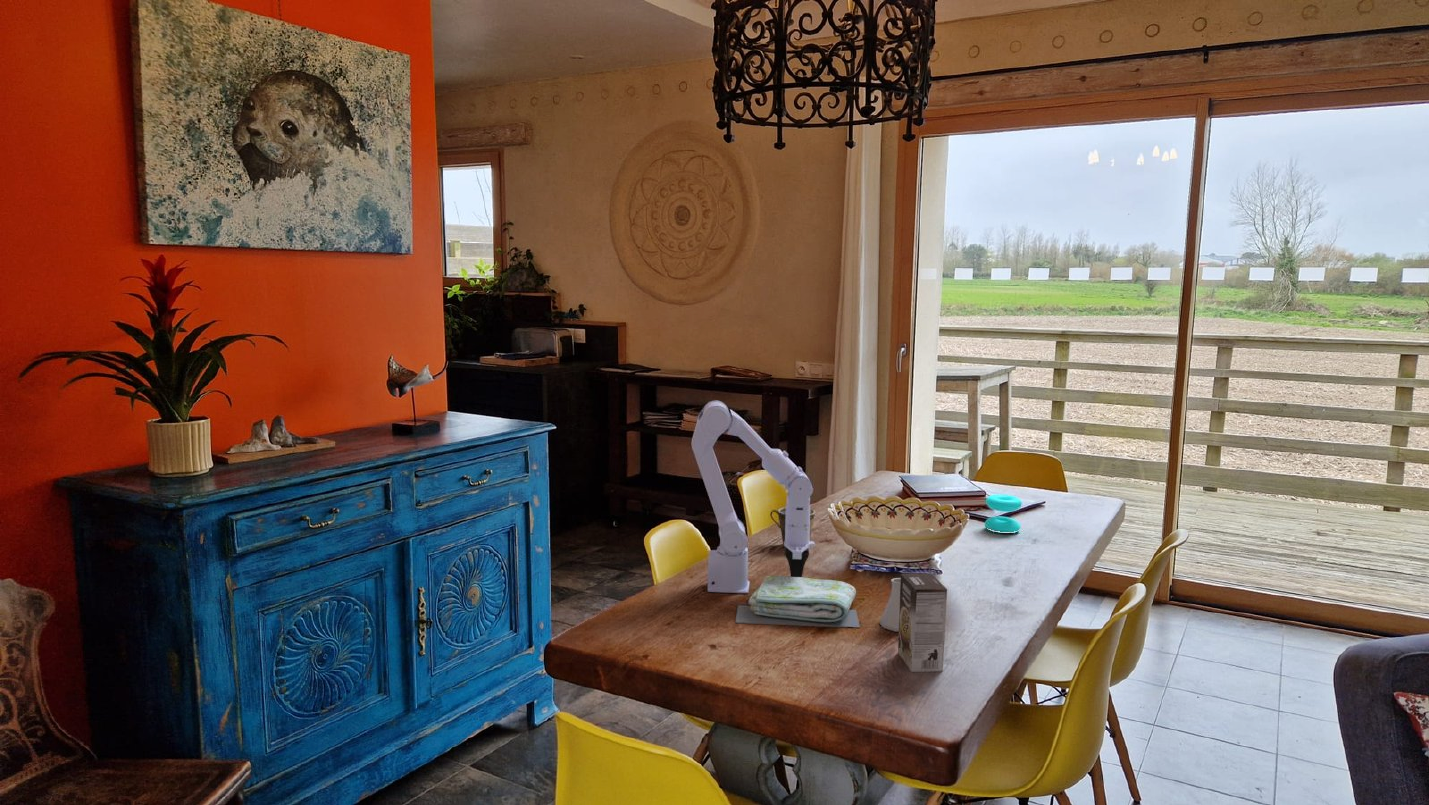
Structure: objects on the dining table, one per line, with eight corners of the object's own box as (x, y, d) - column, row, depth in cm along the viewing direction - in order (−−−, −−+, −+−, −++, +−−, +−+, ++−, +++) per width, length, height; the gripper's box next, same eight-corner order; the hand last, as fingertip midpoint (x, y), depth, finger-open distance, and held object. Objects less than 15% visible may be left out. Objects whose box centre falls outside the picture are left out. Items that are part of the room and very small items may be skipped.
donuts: (982, 493, 269) (1015, 493, 269) (980, 525, 270) (1013, 526, 270) (991, 501, 259) (1026, 501, 259) (990, 535, 260) (1024, 535, 260)
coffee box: (896, 652, 176) (899, 572, 174) (928, 652, 177) (932, 572, 175) (910, 672, 167) (913, 588, 165) (944, 671, 168) (948, 588, 166)
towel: (765, 590, 211) (765, 569, 210) (856, 599, 205) (857, 577, 205) (747, 616, 193) (747, 593, 193) (846, 627, 188) (847, 603, 187)
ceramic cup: (820, 545, 248) (821, 509, 246) (803, 554, 239) (804, 517, 238) (778, 537, 254) (779, 503, 253) (761, 546, 246) (761, 510, 245)
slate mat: (735, 623, 190) (735, 622, 190) (737, 606, 200) (737, 605, 200) (859, 628, 188) (859, 627, 188) (856, 610, 198) (856, 610, 198)
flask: (894, 635, 185) (895, 588, 184) (873, 623, 191) (874, 577, 190) (922, 629, 188) (924, 583, 187) (900, 617, 195) (902, 573, 193)
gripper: (815, 532, 203) (813, 591, 205) (814, 516, 218) (812, 570, 219) (784, 531, 204) (782, 589, 206) (784, 515, 218) (783, 569, 220)
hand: (796, 580), depth 213 cm, fingers closed
